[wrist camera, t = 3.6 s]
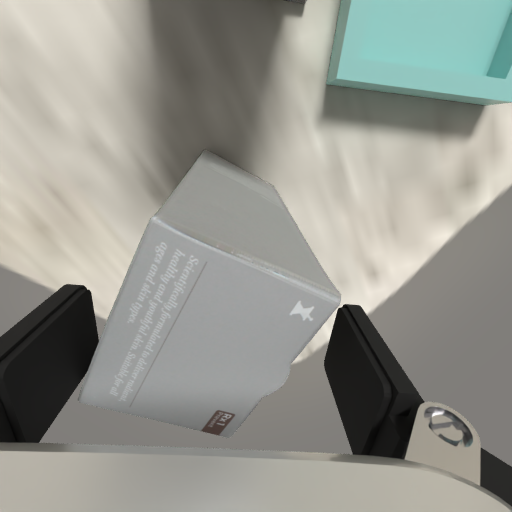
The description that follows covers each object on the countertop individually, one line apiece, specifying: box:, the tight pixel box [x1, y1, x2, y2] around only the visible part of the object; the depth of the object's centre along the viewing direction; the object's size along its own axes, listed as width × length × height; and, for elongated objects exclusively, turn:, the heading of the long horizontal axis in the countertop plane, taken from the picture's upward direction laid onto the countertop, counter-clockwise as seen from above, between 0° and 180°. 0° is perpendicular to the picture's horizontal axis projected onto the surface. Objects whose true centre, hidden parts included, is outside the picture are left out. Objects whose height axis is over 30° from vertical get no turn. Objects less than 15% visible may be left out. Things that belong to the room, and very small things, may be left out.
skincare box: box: [78, 149, 341, 438], centre depth 16 cm, size 8×7×16 cm
